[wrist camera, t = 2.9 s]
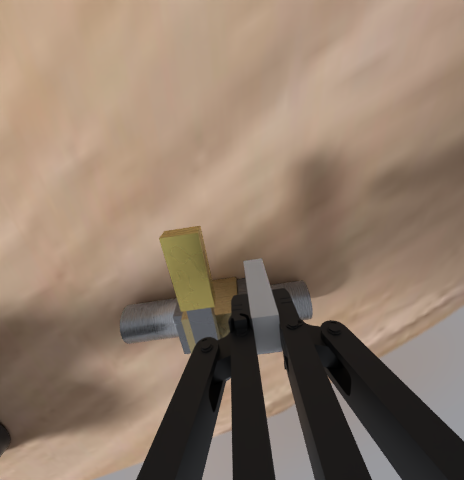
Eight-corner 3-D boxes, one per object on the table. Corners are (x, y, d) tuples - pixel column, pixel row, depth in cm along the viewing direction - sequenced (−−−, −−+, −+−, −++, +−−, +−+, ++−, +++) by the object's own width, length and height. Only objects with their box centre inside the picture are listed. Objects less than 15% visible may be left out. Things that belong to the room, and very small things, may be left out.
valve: (143, 329, 35) (117, 387, 26) (129, 292, 32) (94, 344, 24) (300, 307, 34) (325, 360, 25) (299, 267, 31) (326, 312, 23)
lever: (237, 367, 25) (238, 381, 23) (198, 372, 25) (196, 386, 24) (208, 224, 18) (207, 231, 17) (156, 232, 19) (150, 239, 17)
